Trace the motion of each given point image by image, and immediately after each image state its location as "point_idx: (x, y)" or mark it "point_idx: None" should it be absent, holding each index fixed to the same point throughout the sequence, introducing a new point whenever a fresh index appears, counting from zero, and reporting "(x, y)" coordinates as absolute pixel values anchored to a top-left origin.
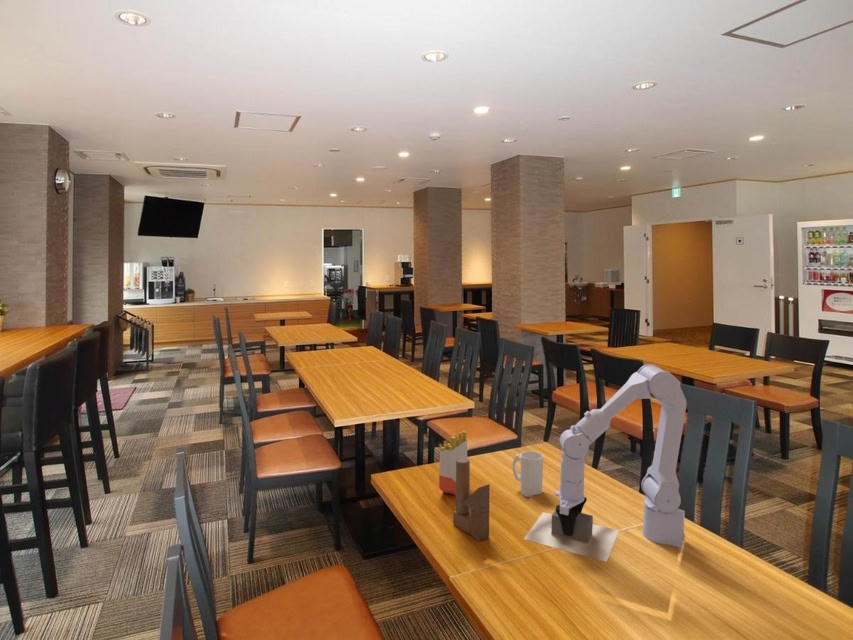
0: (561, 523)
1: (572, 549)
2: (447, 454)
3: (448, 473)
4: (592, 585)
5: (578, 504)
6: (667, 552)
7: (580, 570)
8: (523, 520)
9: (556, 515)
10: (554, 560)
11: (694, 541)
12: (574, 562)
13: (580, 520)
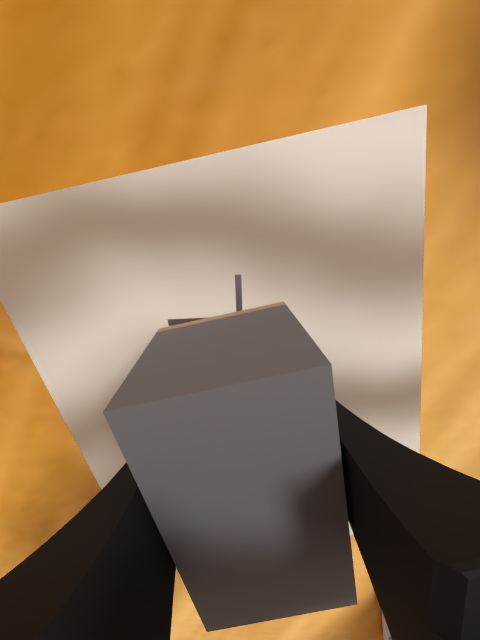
0: (113, 480)
1: (116, 467)
2: None
3: None
4: (5, 568)
5: (399, 631)
6: (366, 618)
7: (44, 515)
8: (242, 13)
9: (143, 442)
10: (7, 424)
11: None
12: (72, 481)
13: (223, 587)
